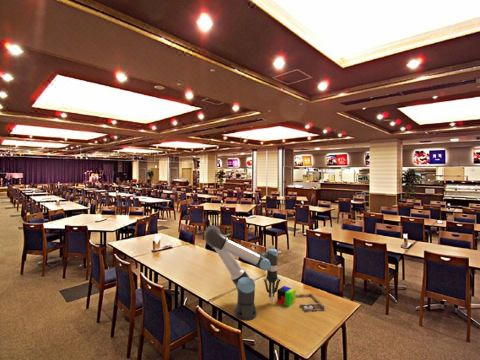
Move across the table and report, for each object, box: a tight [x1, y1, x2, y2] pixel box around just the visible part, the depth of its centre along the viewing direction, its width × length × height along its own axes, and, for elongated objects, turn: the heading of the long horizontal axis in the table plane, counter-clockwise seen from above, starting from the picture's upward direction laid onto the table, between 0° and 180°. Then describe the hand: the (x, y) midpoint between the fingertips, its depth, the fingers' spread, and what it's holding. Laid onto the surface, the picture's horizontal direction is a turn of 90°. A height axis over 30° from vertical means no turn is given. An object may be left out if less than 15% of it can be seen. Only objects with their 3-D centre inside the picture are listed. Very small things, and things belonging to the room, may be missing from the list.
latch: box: [304, 305, 313, 310], centre depth 183 cm, size 6×2×3 cm, turn 100°
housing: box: [295, 293, 327, 313], centre depth 192 cm, size 17×24×4 cm
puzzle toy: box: [276, 285, 297, 307], centre depth 194 cm, size 10×10×10 cm
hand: (271, 301), depth 192 cm, fingers closed
